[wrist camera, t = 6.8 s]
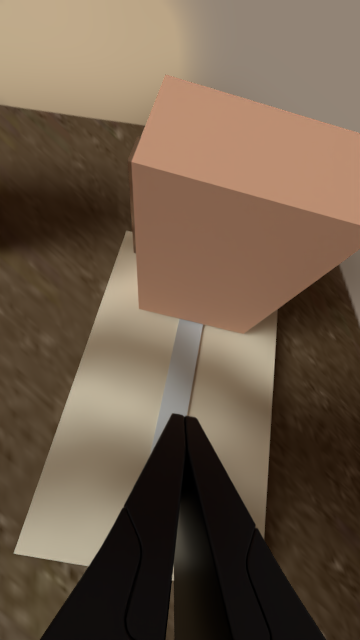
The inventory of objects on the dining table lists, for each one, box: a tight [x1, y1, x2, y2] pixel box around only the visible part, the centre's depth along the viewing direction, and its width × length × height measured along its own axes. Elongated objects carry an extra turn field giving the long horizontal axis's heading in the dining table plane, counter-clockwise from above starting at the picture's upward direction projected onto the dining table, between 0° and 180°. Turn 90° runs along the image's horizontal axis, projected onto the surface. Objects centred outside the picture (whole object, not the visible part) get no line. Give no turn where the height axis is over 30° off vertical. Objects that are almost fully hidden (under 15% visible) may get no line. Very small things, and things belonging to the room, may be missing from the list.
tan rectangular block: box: [131, 75, 360, 334], centre depth 12 cm, size 4×7×10 cm, turn 78°
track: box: [14, 136, 278, 581], centre depth 12 cm, size 19×12×8 cm, turn 168°
